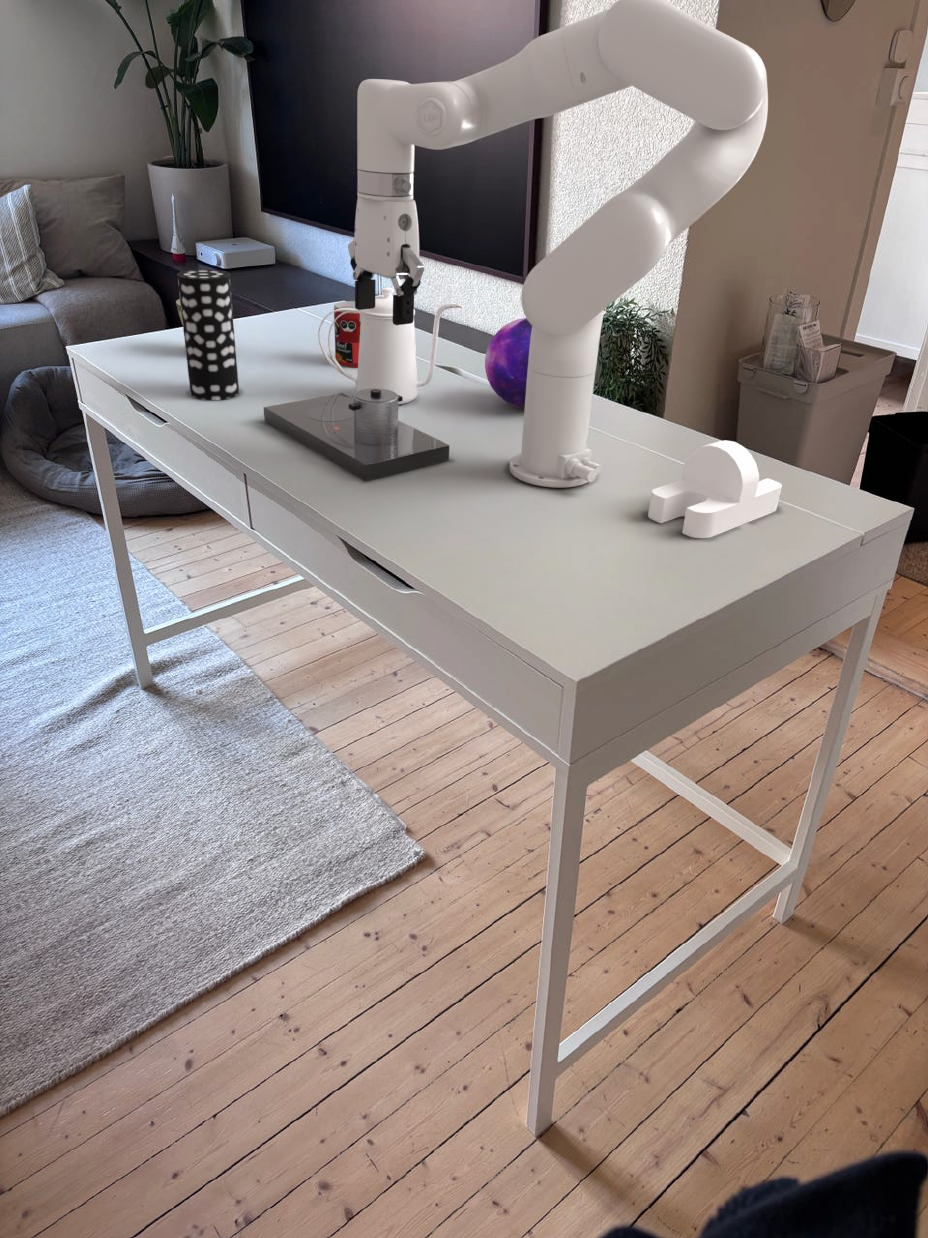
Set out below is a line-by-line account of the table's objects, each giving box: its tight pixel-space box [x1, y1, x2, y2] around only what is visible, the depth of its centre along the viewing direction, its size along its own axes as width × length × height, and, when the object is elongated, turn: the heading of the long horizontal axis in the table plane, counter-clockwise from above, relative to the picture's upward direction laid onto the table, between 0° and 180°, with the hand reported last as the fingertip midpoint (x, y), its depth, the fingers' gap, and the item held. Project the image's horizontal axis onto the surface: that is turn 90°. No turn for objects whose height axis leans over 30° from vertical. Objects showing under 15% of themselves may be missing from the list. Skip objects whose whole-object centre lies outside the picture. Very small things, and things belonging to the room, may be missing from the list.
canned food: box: [333, 300, 361, 368], centre depth 182 cm, size 8×8×11 cm
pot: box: [349, 388, 403, 445], centre depth 140 cm, size 7×9×7 cm
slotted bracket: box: [647, 439, 783, 539], centre depth 126 cm, size 18×10×10 cm, turn 130°
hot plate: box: [263, 392, 450, 482], centre depth 146 cm, size 30×15×2 cm, turn 39°
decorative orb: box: [484, 317, 532, 408], centre depth 162 cm, size 15×15×15 cm
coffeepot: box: [317, 286, 465, 406], centre depth 162 cm, size 11×25×19 cm, turn 84°
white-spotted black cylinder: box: [177, 268, 240, 401], centre depth 159 cm, size 8×8×20 cm
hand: (383, 315), depth 134 cm, fingers open, 9 cm apart
